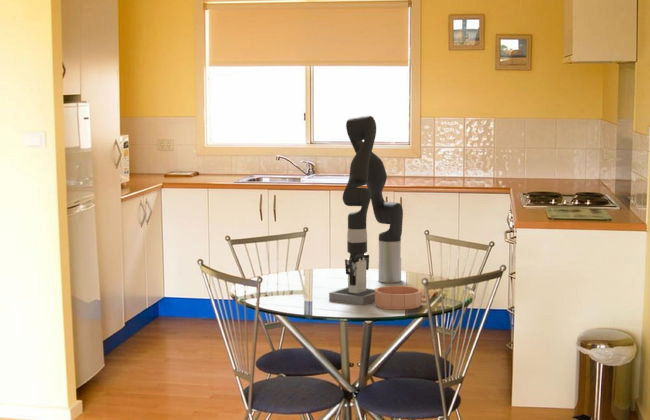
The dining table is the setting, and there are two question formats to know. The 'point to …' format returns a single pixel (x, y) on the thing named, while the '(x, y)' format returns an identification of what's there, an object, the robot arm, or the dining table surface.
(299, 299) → the dining table surface
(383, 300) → the bowl
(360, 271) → the skincare box
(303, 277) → the dining table surface
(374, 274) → the dining table surface
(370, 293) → the parts tray
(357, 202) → the robot arm
